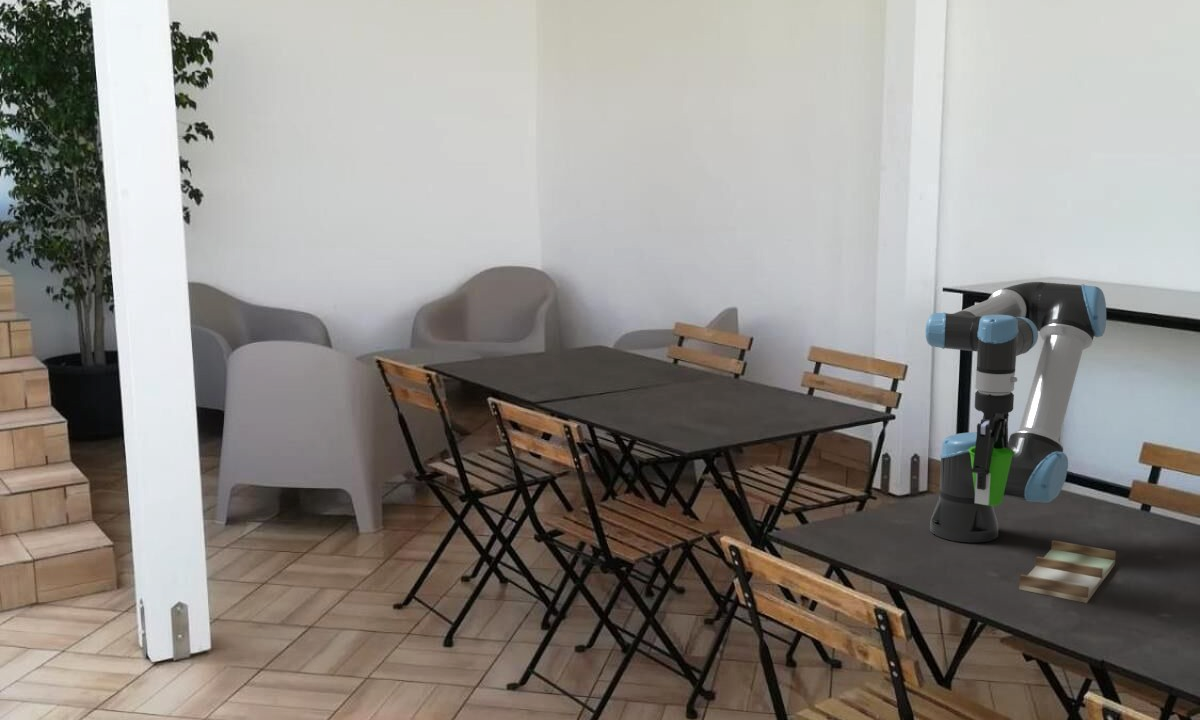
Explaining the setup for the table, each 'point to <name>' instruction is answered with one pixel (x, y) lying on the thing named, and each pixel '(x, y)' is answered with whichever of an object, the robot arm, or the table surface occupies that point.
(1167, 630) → the table surface
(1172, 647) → the table surface
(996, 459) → the cup
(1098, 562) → the wooden divided tray
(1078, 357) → the robot arm
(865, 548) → the table surface
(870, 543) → the table surface
